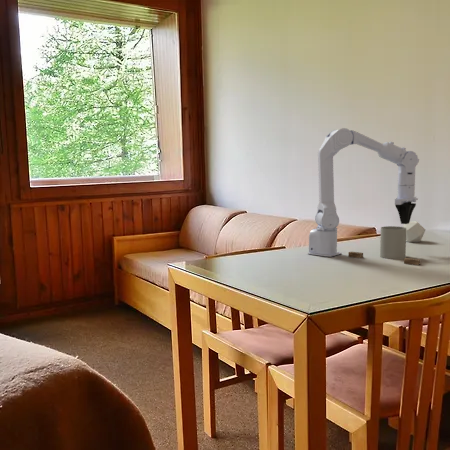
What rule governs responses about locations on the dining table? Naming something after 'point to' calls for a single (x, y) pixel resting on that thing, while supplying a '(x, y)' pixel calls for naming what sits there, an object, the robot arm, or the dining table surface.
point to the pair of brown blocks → (406, 260)
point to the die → (414, 231)
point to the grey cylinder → (393, 242)
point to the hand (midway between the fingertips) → (405, 223)
